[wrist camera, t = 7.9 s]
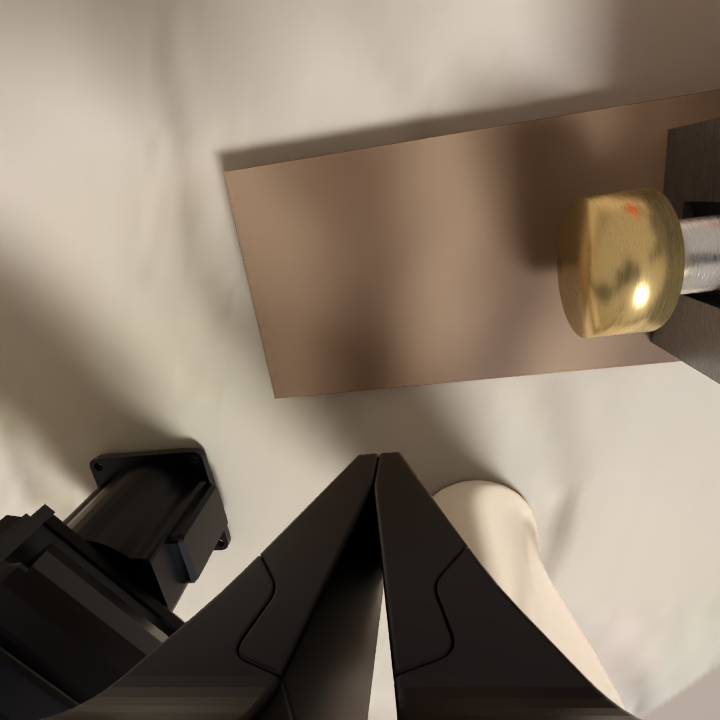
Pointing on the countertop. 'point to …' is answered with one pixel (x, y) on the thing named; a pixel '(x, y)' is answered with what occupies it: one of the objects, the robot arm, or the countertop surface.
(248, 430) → the countertop surface
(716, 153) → the bearing block
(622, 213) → the shaft
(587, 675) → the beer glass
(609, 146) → the base board
